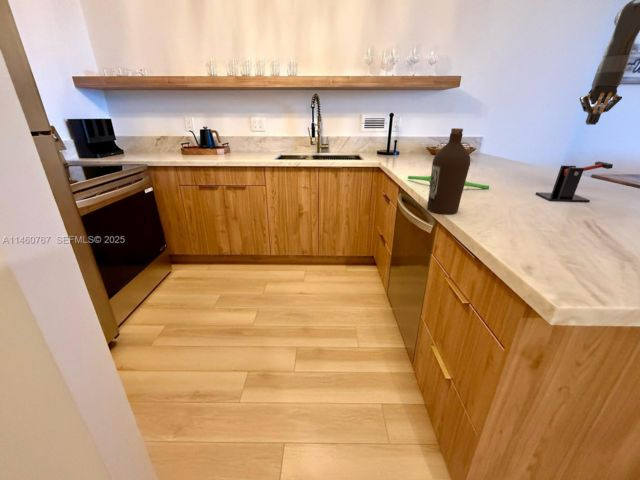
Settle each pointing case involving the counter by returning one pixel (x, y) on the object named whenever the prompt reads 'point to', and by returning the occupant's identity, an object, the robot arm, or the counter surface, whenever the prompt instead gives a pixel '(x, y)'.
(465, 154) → the olive oil
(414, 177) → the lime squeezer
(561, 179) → the bracket
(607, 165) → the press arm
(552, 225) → the counter surface
